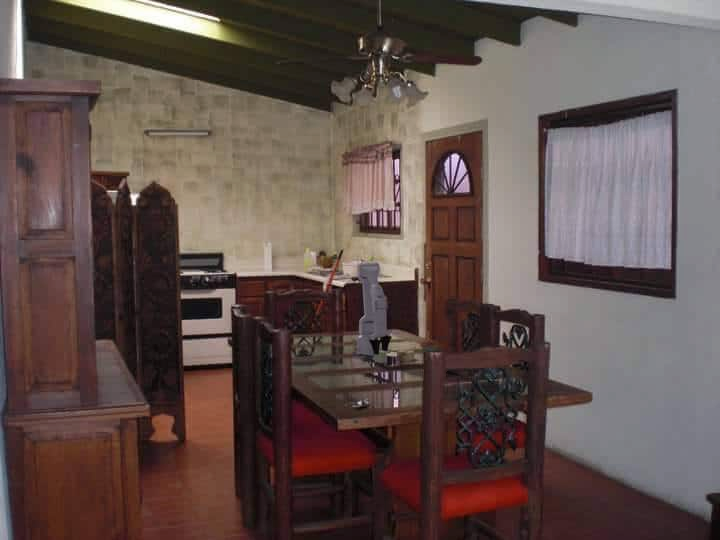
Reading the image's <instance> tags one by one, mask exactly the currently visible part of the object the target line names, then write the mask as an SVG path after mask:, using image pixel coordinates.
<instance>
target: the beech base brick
mask: <svg viewBox="0 0 720 540" xmlns="http://www.w3.org/2000/svg"><path fill="white" fill-rule="evenodd" d="M396 352H397V357H396V360H397V361H402V362H403V361H405V362H410V361H413V360H414V359H415V350H411V349H410V350H409V349H401V350H398V351H396ZM412 359H413V360H412Z"/></svg>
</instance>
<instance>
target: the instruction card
mask: <svg viewBox="0 0 720 540" xmlns="http://www.w3.org/2000/svg"><path fill="white" fill-rule="evenodd" d="M389 352H390V353H387V357H396V358H397V352H398V351H394V352H393V351H389Z"/></svg>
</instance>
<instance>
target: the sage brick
mask: <svg viewBox="0 0 720 540" xmlns="http://www.w3.org/2000/svg"><path fill="white" fill-rule="evenodd" d="M387 352H388V350H387V351H382V350H380V349H379V355H374V363H375V362H378V363H377V364H383V363H384V362H385V363H387V357H388V356H387ZM385 363H384V364H385Z"/></svg>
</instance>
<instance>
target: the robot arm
mask: <svg viewBox="0 0 720 540" xmlns="http://www.w3.org/2000/svg"><path fill="white" fill-rule="evenodd" d="M380 272H381V267H380V263H379V262H359V263H358V264H357V278H358V281H360V282H361V284H362V296H363V298H362V299H363V311H364V312H363V313H364V315H363V316H361V318H360V319H359V321H358V333H359V335H358V337H357V340H356V346H357V347H356V348H357V349H356V350H357V351H356V355H360V354H361V355H363V356H370V357H373V356H374V357H375V355H379V350H380V346H381V351H387V352H388V349H389V344H390V341H391V340H392V335H391V331H390V330H387V329H388V328H387V326H388V325H387V310H388V308H389V301H388V297H387V296H386V295H385V293H384V290H383V287H382V286H381V285H380V284H379V278H378V277H379V275H380V274H381V273H380Z"/></svg>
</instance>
